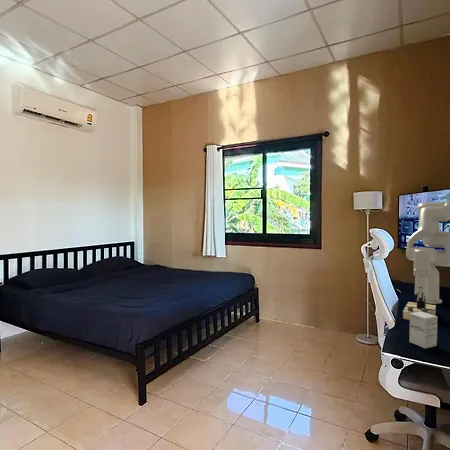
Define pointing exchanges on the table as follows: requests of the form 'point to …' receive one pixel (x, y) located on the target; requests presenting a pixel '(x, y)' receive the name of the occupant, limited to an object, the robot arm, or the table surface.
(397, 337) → the table surface
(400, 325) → the table surface
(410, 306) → the fader console
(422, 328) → the supplement box
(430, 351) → the table surface
